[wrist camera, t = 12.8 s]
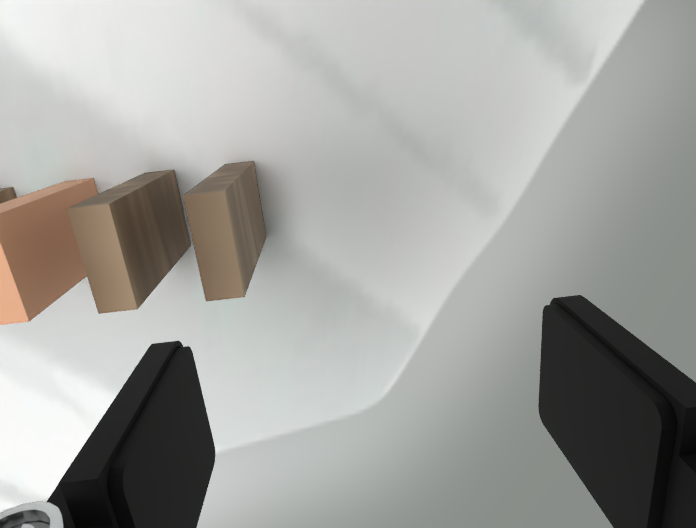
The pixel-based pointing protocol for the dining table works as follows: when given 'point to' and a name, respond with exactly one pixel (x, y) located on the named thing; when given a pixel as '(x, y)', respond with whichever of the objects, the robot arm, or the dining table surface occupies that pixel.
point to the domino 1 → (39, 249)
